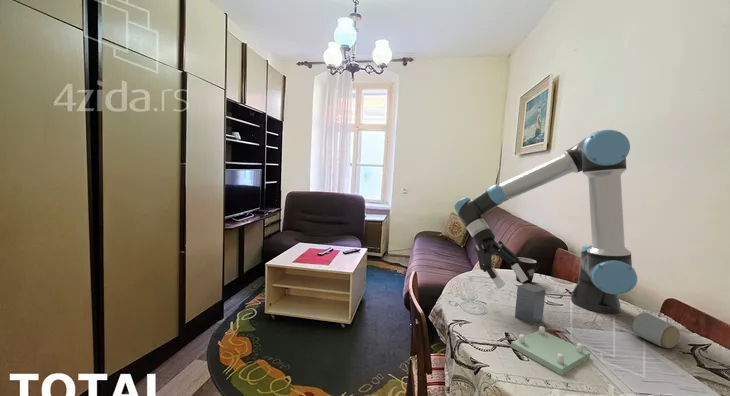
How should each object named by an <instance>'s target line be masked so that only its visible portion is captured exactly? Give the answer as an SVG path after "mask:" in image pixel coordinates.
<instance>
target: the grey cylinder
mask: <svg viewBox="0 0 730 396" xmlns="http://www.w3.org/2000/svg"><path fill="white" fill-rule="evenodd" d="M632 332H633V334H635V335H636V336H638V337H640V338H642V339H643V340H646V341H648V342H650V343H653V344H654V345H656V346H659V347H661V348H662V349H663V348H665V349H671V348H674V347H675V346H676V345H678V344H679V342H680V337H681V334H680V330H679V329H678V328H677V326H674V325H673V324H671V323H670V322H667V321H665V320H663V319H662V318H659V317H657V316H655V315H652V314H651V313H648V312H644V311H643V312H640V313H639V314H638V315H637V316H636V317H635V318H634V320H633V323H632Z"/></svg>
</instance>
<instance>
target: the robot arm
mask: <svg viewBox="0 0 730 396" xmlns="http://www.w3.org/2000/svg"><path fill="white" fill-rule="evenodd" d="M630 150H631V143H630V140H629V138H628V137H627V136H626V135H625V134H624V133H623V132H621V131H619V130H616V129H602V130H597V131H594V132H593V133H591V134H589V136H587V137H585V138H584V139H582V140H581V141H579V143H577V144H575V145H574V146H572V147H570V148H568V149H567V150H564V151H563V153H562V155H559V156H558V157H555V158H553V159H551V160H548V161H547V162H545V163H542V164H540V165H538V166H536V167H533V168H531V169H530V170H527V171H525V172H523V173H520V174H518V175H516V176H514V177H512V178H510V179H508V180H506V181H504V182H501V183H500V184H493V185H492V186H490V187H488V188H487V189H485V190H484V191H482V192H481V193H479V194H478V195H477V196H475V197H473V198H470V197H463V198H462V199H459V200H458V201H456V202H455V204H454V210H455V212H456V213H457V216H458V217H459V219H460V220H461V222H462V223H463V225H464V226H465V228H466V230H467V231H468V233H469V234H470V236H471V238H472V240H473V242H474V243H475V246H474V250H475V252H476V255H477V260H478V265H479V269H480V270H481V271H483V272H484V273H486V272H487V274H488V275H489V277H490V278H491V279H492V281H493V284H494V285H495V286H496V287H497V289H501V288H502V287H504V286H506V285H505V283H504V281H503V279H502V278H501V276H500V275H499V273H498V271H497V270H496V268H495V267H493V263H492V261H493V259H492V256H496V257H499V258H501V259H502V260H504V261H505V262H507V263H508V264H509V265H510V268H511V269H512V271H513V272H514V274H515V276H516V275H517V277H518V278H519V280H520V281H521V282H520V283H521V284H524V283H523V282H524V281H526V280H528V278H527V277H526V275H525V274H524V272H523V271H522V269H521V268H520V266H519V265H518V263H519V262H520V259H519V257H518V256H517V255H516V254H515V253H513V252H512V251H511V250H510V248H508V247H507V246H506V245H505V244H504V242H503V241H502V240H500V241H498V242H497V241H496V240H495V239H496V236H495V234H494V233H493V231H492V229H490V226H489V225H488V223H487V222H486V220H485V218H484V217H483V215H485V214H487V213H488V212H490V211H492V210H493V209H494V208H497V207H498V206H499V205H500V206H501V205H502V204H503V203H505V202H508V201H510V200H512V199H513V198H516V197H518V196H521V195H522V194H525V193H527V192H530V191H532V190H535V189H536V188H539V187H542V186H543V185H546V184H548V183H550V182H553V181H555V180H558V179H560V178H562V177H565V176H567V175H569V174H572V173H574V174H577V173H580V172H582V174H583V175H585V176H586V177H587V178H588V194H589V195H588V196H589V197H588V198H589V210H590V213H589V214H590V227H591V229H590V230H591V232H590V233H591V244H584V245H583V246H582V247H581V251H580V262H579V272H578V280H577V283H576V285H575V287H574V289H573V291H572V292H571V295H570V300H571V302H572V303H574V304H575V305H577V306H579V307H582V308H583V309H587V310H590V311H592V312H593V311H594V312H597V313H602V314H608V315H609V314H610V315H611V314H613V315H615V314H619V313H620V312H621V308H622V307H621V306H622V305H621V302H620V298H619V295H624V294H627V293H629V292H631V291H632V290H633V289H634V288H635V287H636V285H637V283H638V275H637V272H636V270H635V268H633V261H632V252H631V251H630V250H629V249H628V248H626V247H625V245H626V244H625V228H624V226H625V225H624V213H623V211H624V210H623V194H622V191H623V190H622V189H623V188H622V174H623V173H625V171H627V156H628V155H629V153H630Z"/></svg>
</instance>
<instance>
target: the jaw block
mask: <svg viewBox="0 0 730 396" xmlns="http://www.w3.org/2000/svg"><path fill="white" fill-rule="evenodd" d="M545 297H546V288H543V287H540V286H538V285H535V284H532V283H530V284H529V283H527V284H526V283H522V284H519V285H517V289H516V298H515V300H516V301H515V311H514V312H515V313H514V318H515V319H518V320H519V321H523V322H524V323H527V324H528V325H531V326H534V325H536V324H538V323H542V322H543V320H544V319H543V317H544V309H545V308H544V307H545V301H546V300H545V299H546V298H545Z"/></svg>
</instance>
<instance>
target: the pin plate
mask: <svg viewBox="0 0 730 396" xmlns="http://www.w3.org/2000/svg"><path fill="white" fill-rule="evenodd" d="M545 330H546V328H545V327H544V326H541V325H539V328H538V330H537V331H534V332H532V333H529V334H527V335H524V334H523V333H522V334H519V337H518V338H517V339H515V340H513V341H511V342H510V343H511V344H510V348H512V349H514V350H515V351H517V352H519V353H521V354H523V355H525V357H526V356H527V357H528V358H530V359H531V360H533V361H535V362H537V363H538V364H541V365H542V366H544V367H546V368H547V369H549V370H551V371H553V372H555V373H557V374H558V375H560V376H562V375H564V374H565V373H567V372H568V371H570V370H571V369H574V368H575V367H577V366H579V365H580V364H582V363H584V362H585V361H587V360H588V359H590V358H591V352H590V351H589V350H586V349H584V348H585V346H584V344H582V343H580V342H579V343H578V342H577V344H576V345H575V344H574V343H571V342H569V341H566V340H564V339H563V338H560V337H558V336H557V335H553V334H551V333H549V332H547V331H545Z"/></svg>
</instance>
